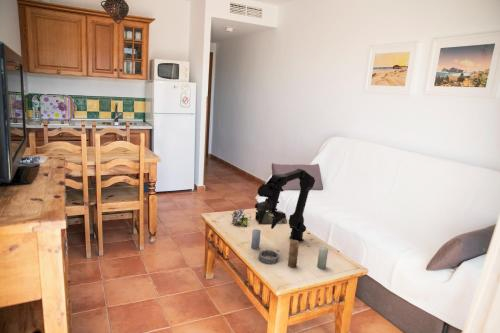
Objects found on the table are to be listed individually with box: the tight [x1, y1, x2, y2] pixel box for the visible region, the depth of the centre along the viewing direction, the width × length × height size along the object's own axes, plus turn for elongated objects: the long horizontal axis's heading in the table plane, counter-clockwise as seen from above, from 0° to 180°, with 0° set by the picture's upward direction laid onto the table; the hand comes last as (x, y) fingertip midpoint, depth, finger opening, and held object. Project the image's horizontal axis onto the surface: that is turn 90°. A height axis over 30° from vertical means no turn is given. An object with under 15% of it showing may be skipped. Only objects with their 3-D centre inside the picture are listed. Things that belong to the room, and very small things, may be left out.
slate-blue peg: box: [250, 228, 261, 251], centre depth 192 cm, size 4×4×10 cm
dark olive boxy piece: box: [255, 211, 288, 225], centre depth 233 cm, size 20×10×6 cm, turn 104°
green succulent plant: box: [231, 208, 252, 228], centre depth 225 cm, size 11×11×12 cm
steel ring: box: [257, 249, 280, 265], centre depth 181 cm, size 10×10×2 cm
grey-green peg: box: [316, 246, 329, 270], centre depth 176 cm, size 4×4×10 cm
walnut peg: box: [287, 239, 300, 269], centre depth 174 cm, size 4×4×13 cm
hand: (265, 225), depth 187 cm, fingers open, 9 cm apart
